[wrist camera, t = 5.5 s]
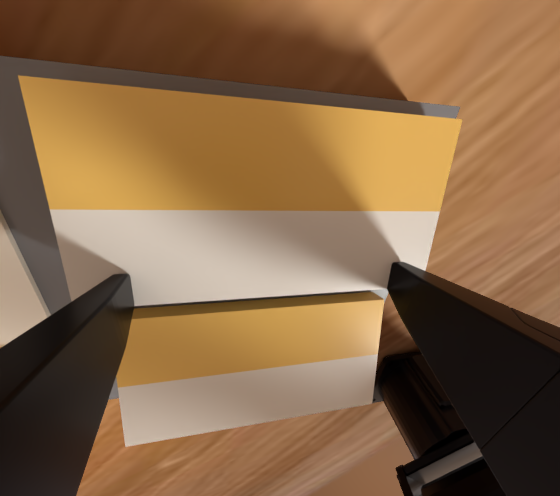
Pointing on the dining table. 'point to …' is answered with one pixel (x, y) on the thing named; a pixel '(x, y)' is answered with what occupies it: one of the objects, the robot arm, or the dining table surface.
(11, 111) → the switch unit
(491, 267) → the dining table surface
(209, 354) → the switch
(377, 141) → the switch
